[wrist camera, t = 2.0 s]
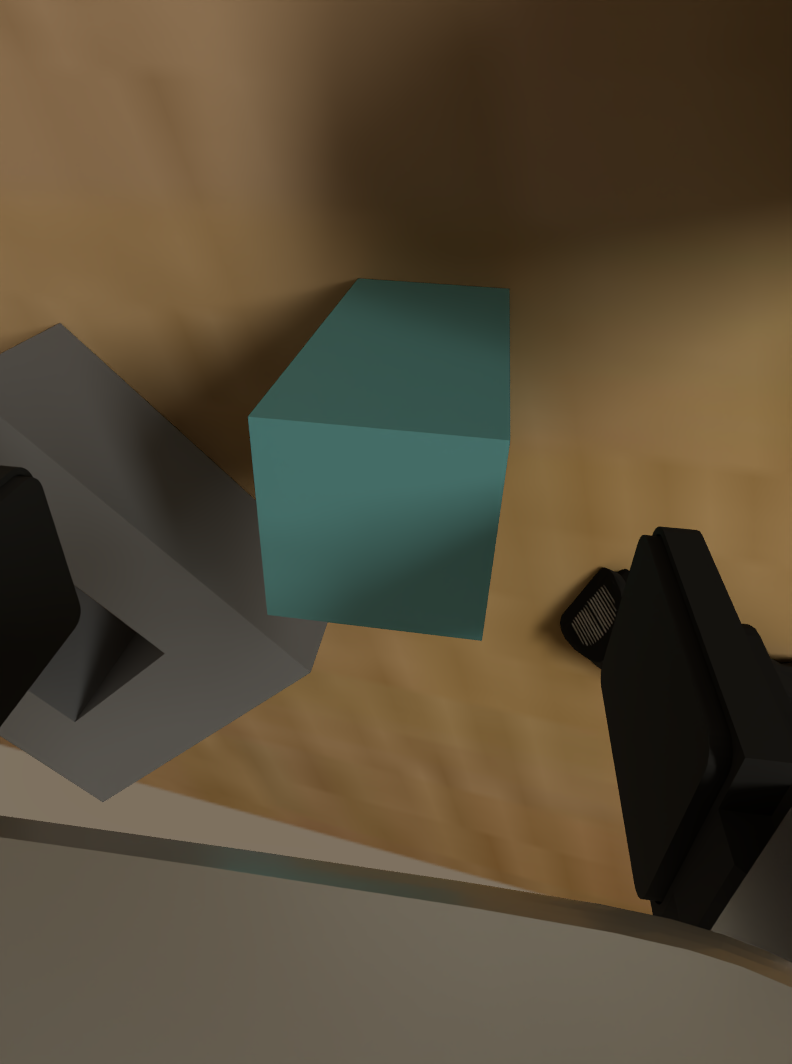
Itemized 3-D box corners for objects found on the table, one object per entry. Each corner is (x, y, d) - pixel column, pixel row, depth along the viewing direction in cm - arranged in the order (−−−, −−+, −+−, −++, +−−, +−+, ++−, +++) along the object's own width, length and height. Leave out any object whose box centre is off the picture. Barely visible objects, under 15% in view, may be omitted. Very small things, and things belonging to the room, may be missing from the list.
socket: (60, 322, 22) (-47, 377, 17) (342, 579, 26) (310, 672, 22) (-94, 529, 28) (-200, 606, 23) (155, 709, 32) (102, 802, 28)
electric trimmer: (871, 765, 28) (910, 835, 25) (552, 620, 26) (558, 680, 23) (949, 714, 26) (1000, 784, 23) (610, 551, 24) (623, 609, 21)
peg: (509, 288, 19) (510, 440, 11) (491, 429, 22) (481, 640, 13) (358, 278, 19) (247, 416, 11) (358, 417, 22) (267, 614, 14)
